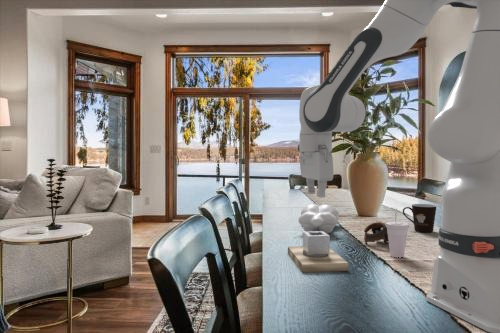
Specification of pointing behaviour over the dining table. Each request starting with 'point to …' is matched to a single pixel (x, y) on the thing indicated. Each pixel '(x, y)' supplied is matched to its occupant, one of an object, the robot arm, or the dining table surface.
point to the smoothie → (397, 237)
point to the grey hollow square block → (316, 243)
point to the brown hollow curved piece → (376, 232)
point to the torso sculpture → (319, 218)
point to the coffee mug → (423, 217)
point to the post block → (317, 260)
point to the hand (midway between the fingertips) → (316, 195)
